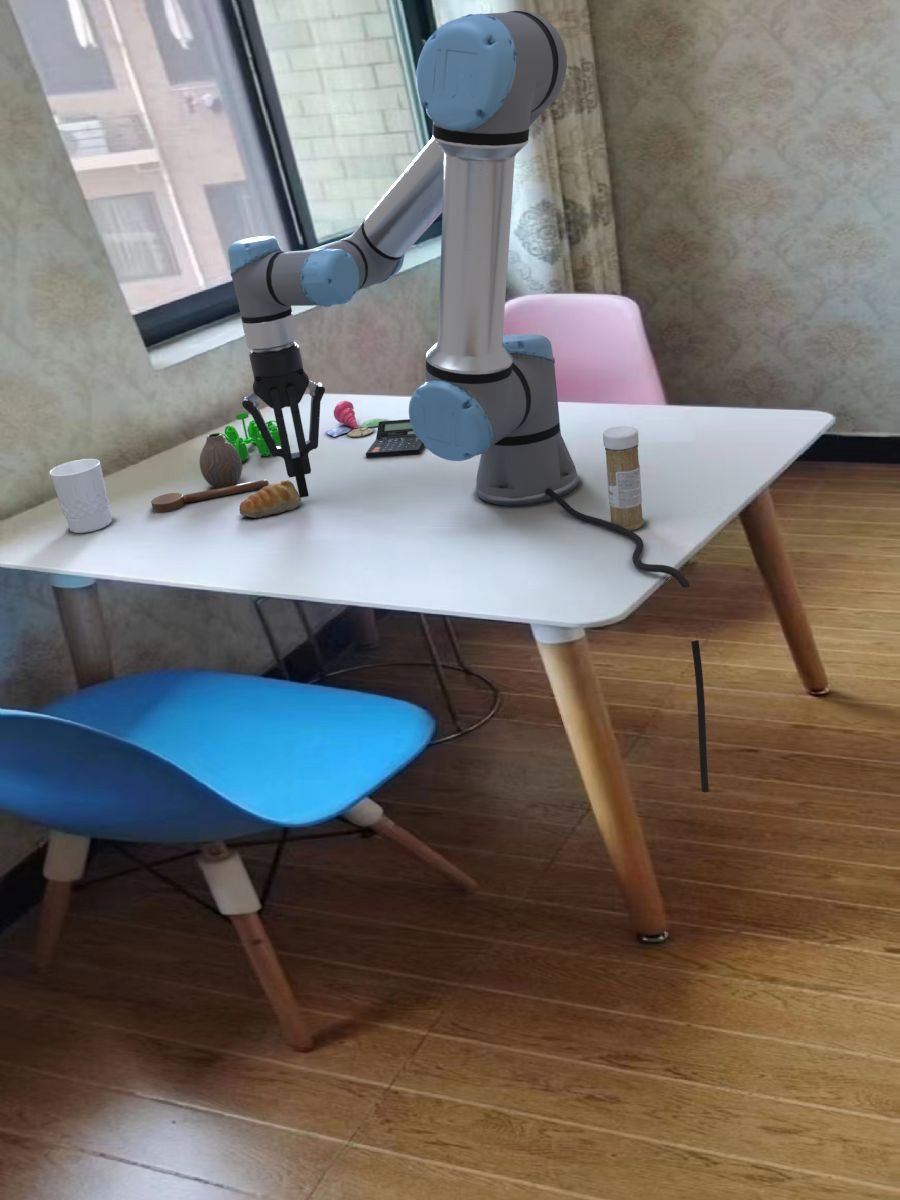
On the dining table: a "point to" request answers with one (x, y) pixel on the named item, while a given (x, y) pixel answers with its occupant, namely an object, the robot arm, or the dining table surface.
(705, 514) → the dining table surface
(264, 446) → the chandelier
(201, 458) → the vase
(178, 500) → the wooden spoon
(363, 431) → the toy pieces
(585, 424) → the dining table surface
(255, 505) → the pastry
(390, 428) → the calculator
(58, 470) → the white cup
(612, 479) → the sprinkles bottle
